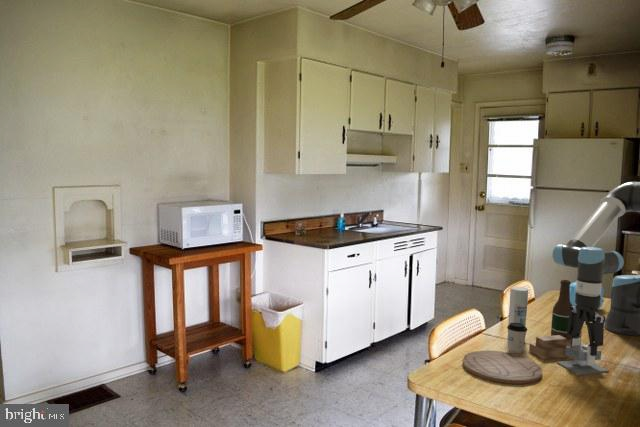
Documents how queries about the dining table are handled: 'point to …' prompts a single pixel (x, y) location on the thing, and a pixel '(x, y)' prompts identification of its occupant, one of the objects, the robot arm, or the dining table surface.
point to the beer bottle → (562, 312)
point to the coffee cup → (516, 337)
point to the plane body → (551, 346)
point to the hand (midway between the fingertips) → (582, 360)
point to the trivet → (502, 367)
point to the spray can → (518, 305)
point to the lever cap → (580, 352)
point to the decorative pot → (573, 292)
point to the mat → (582, 367)
